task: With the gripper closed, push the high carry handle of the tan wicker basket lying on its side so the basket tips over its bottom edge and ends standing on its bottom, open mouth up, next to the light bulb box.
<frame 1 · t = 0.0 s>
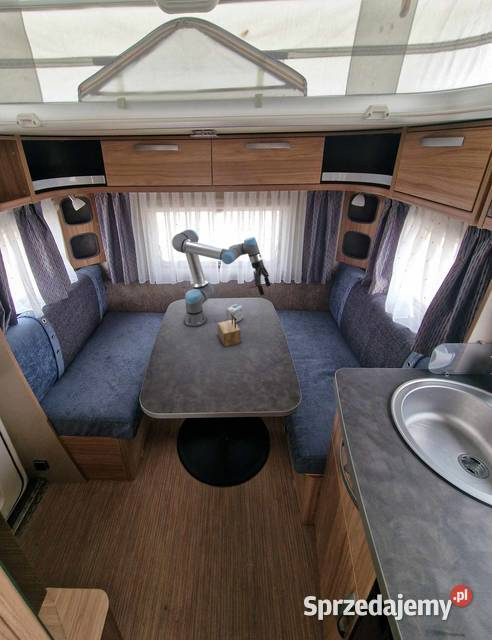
hand: (265, 290, 189), 28 cm above the table, tool tilted 20°, fingers open, 13 cm apart
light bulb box: (234, 320, 208), on the table
wicker basket: (221, 340, 186), on the table
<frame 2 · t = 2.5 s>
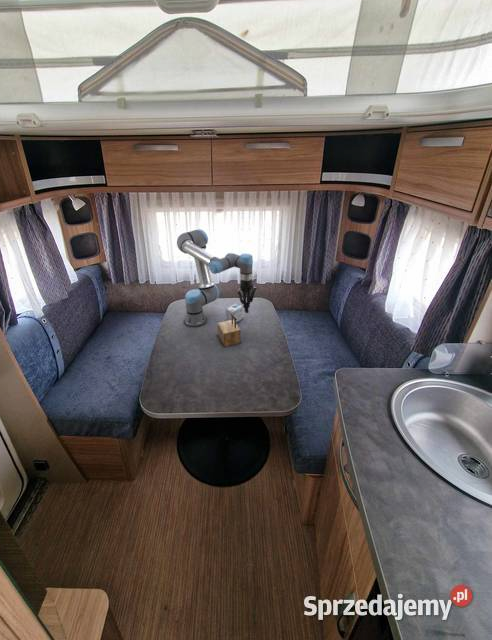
hand: (246, 311, 183), 18 cm above the table, tool pointing down, fingers closed
nothing on the table moved.
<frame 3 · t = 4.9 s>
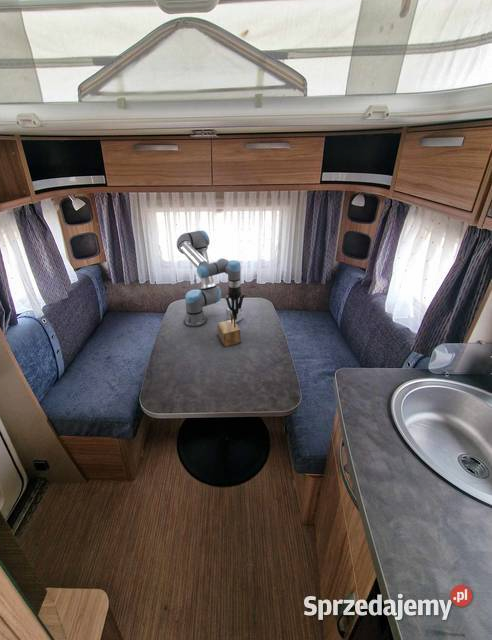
hand: (235, 318, 183), 15 cm above the table, tool pointing down, fingers closed
wicker basket: (221, 340, 186), on the table, touching gripper
everything else where it was.
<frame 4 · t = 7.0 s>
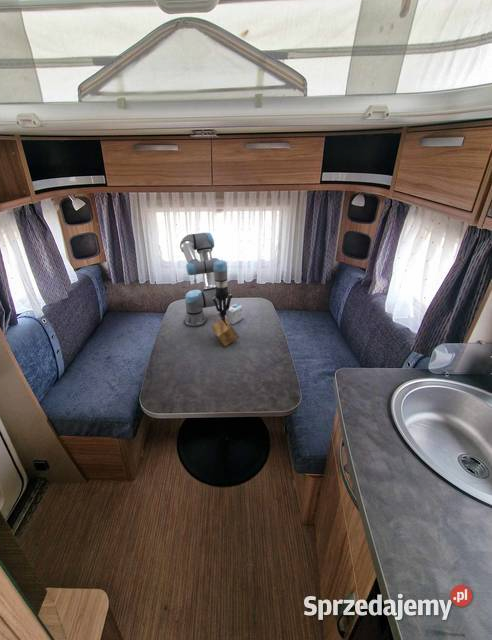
hand: (223, 319, 179), 16 cm above the table, tool pointing down, fingers closed
wicker basket: (221, 341, 186), on the table, tilted 27°, touching gripper
everything else where it was.
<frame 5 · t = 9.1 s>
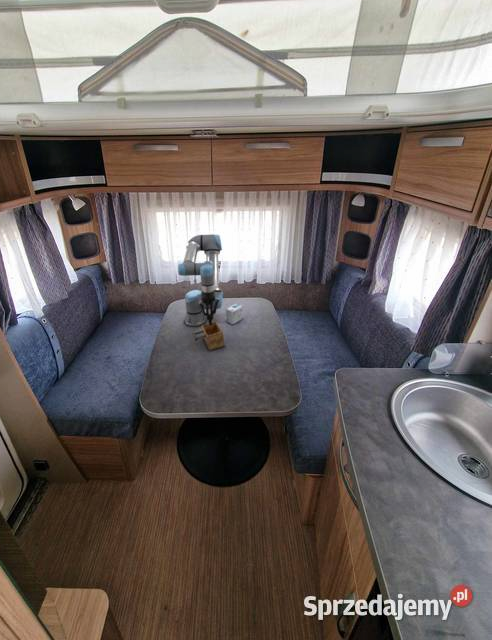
hand: (210, 323, 178), 15 cm above the table, tool pointing down, fingers closed
wicker basket: (221, 340, 185), point 1 cm above the table, tilted 95°
everything else where it was.
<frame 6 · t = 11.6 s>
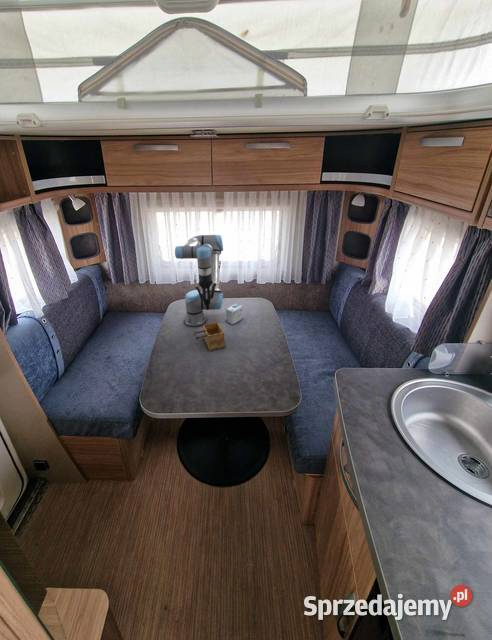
hand: (207, 308, 174), 26 cm above the table, tool pointing down, fingers closed
wicker basket: (221, 341, 186), on the table, tilted 90°
everything else where it was.
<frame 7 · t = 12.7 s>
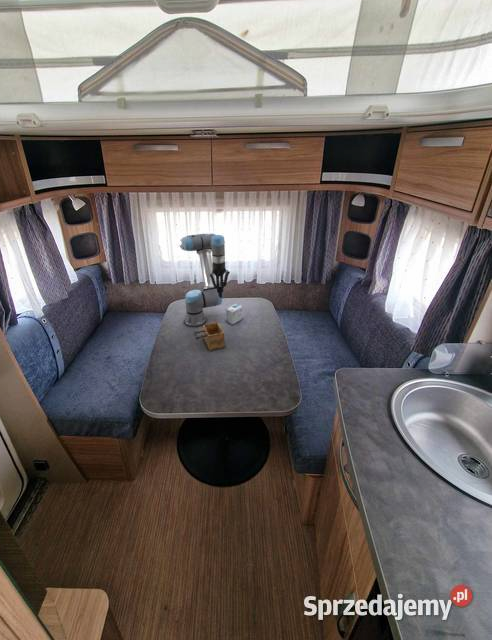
hand: (220, 296, 177), 30 cm above the table, tool pointing down, fingers closed
nothing on the table moved.
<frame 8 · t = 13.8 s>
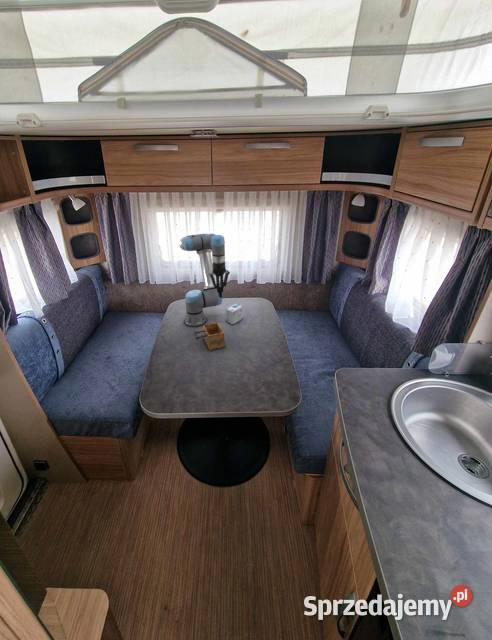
hand: (220, 296, 177), 30 cm above the table, tool pointing down, fingers closed
nothing on the table moved.
at the end: wicker basket tilted 90°; wicker basket on the table; wicker basket 26.4 cm from the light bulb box (horizontally) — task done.
